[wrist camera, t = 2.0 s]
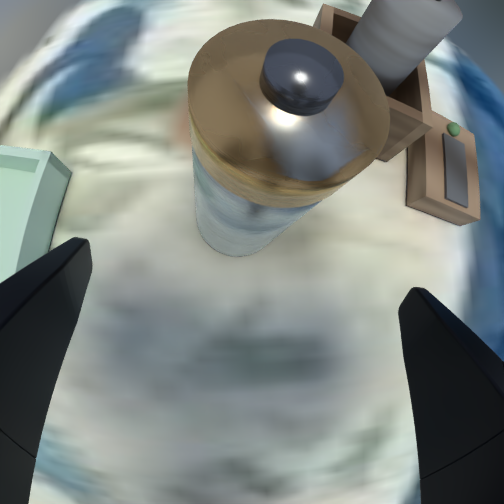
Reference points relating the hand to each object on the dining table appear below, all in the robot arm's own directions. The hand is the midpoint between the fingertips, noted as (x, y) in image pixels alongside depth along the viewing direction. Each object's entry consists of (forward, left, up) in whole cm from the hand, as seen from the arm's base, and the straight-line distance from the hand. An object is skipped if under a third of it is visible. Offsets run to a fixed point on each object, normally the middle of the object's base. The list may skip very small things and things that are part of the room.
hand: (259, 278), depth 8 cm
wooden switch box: (+12, -15, -11) cm, 22 cm away
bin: (+15, -6, -11) cm, 20 cm away
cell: (+4, 0, -11) cm, 12 cm away
